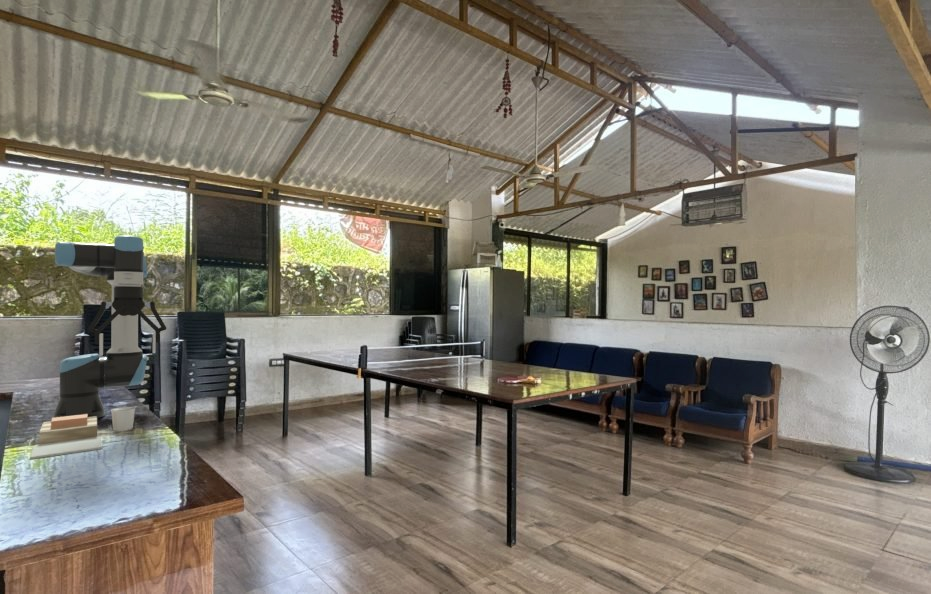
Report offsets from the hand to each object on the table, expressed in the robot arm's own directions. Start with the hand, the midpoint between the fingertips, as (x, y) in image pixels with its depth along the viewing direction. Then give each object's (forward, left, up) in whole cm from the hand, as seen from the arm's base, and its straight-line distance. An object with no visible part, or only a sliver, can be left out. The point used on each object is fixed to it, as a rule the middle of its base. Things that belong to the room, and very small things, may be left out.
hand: (128, 354), depth 154 cm
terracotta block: (-18, -15, -23) cm, 33 cm away
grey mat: (-3, -15, -27) cm, 31 cm away
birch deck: (-19, -15, -27) cm, 36 cm away
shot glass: (-20, 0, -28) cm, 34 cm away
